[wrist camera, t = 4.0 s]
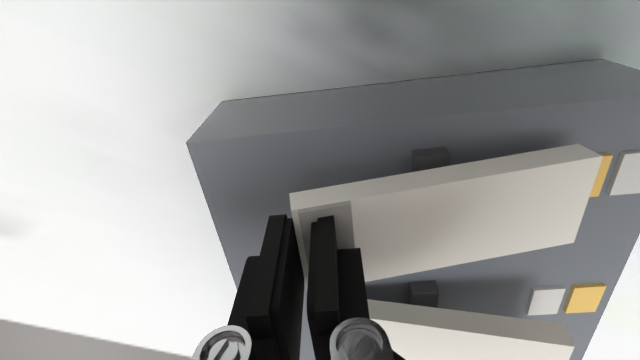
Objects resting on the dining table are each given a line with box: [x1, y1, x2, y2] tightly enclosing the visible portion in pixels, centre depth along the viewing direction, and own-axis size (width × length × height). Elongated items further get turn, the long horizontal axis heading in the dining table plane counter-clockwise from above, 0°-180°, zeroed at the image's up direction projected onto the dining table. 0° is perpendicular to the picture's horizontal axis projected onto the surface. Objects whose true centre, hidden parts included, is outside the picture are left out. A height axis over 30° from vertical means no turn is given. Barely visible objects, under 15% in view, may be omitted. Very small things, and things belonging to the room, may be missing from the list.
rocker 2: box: [367, 299, 574, 360], centre depth 15 cm, size 10×4×1 cm, turn 97°
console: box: [186, 59, 640, 360], centre depth 19 cm, size 18×20×6 cm
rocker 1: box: [289, 144, 603, 288], centre depth 12 cm, size 10×4×1 cm, turn 97°
